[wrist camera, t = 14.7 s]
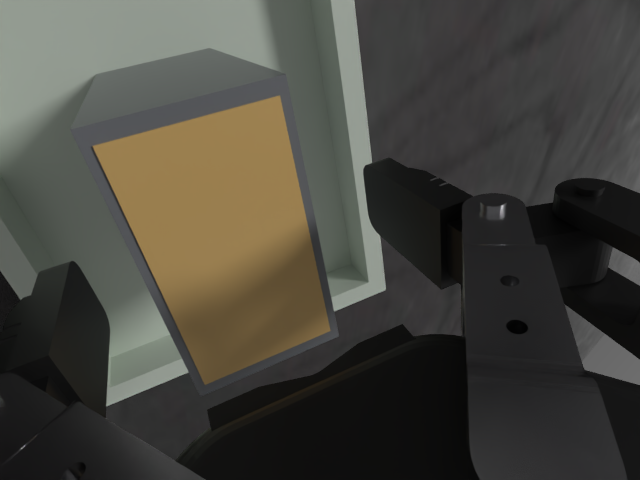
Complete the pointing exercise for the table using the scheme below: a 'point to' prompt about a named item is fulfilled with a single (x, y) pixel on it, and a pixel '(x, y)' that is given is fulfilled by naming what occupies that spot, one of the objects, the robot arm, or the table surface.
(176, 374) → the tray
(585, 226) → the robot arm
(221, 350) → the block
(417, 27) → the table surface
